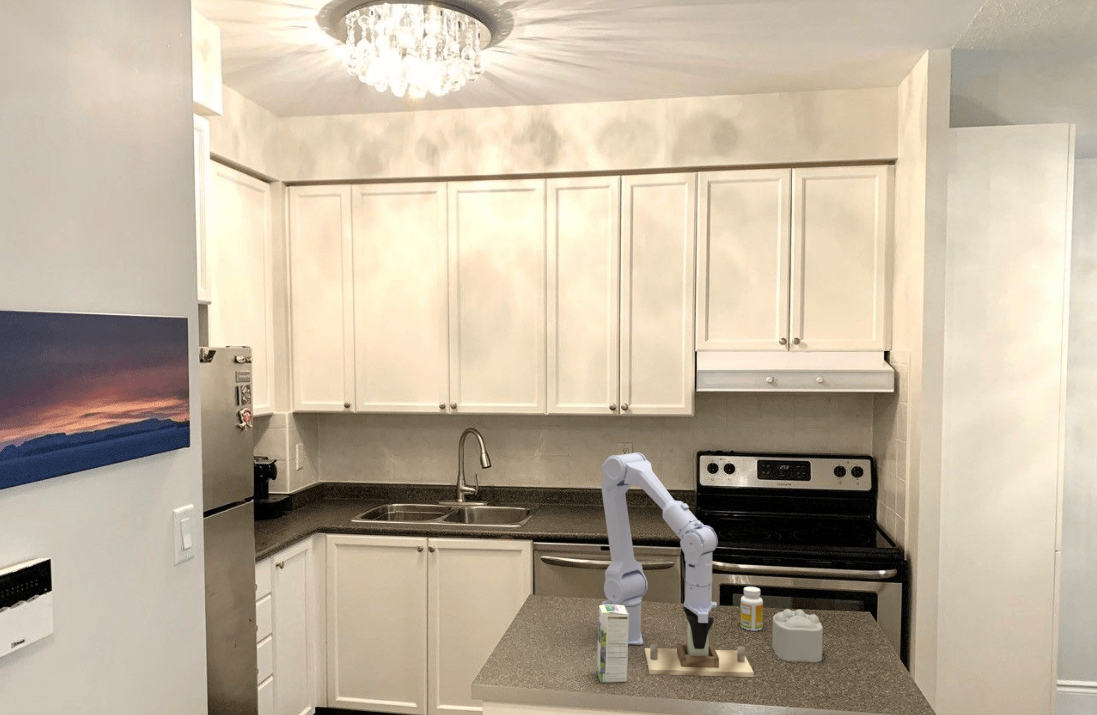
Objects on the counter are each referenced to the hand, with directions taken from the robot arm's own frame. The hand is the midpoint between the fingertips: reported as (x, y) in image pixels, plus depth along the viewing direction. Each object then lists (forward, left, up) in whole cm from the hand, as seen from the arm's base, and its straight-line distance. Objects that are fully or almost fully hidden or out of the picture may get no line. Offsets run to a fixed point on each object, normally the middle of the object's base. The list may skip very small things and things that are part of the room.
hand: (697, 644), depth 173 cm
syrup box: (-19, -8, -5) cm, 21 cm away
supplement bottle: (+17, +24, -5) cm, 30 cm away
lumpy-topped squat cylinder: (+24, +10, -5) cm, 26 cm away
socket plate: (0, 0, -4) cm, 4 cm away
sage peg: (0, 0, -2) cm, 2 cm away
